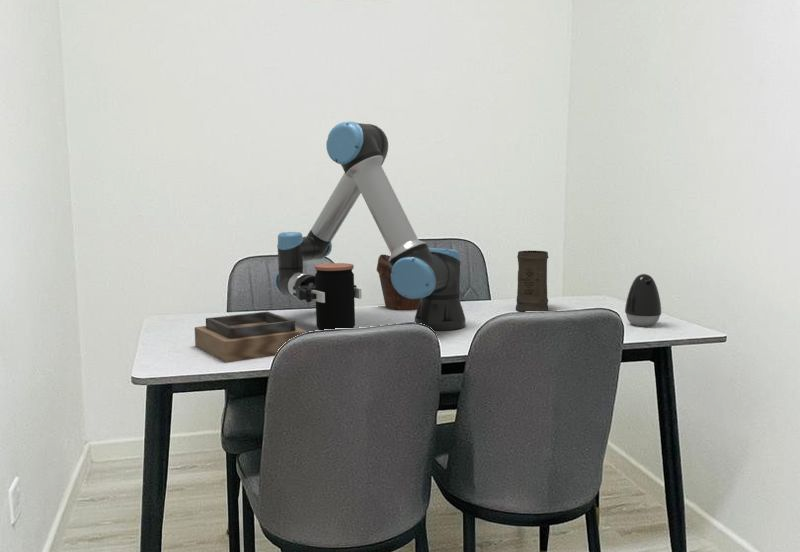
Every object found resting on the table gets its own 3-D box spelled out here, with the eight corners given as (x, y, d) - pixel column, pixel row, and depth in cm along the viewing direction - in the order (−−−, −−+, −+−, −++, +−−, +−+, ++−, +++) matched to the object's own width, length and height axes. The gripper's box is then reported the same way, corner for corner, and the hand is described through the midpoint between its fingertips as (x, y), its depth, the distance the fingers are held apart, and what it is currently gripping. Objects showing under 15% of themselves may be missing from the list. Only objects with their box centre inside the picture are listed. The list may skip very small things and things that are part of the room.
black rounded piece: (632, 328, 219) (634, 276, 217) (619, 322, 229) (621, 272, 227) (666, 328, 219) (668, 276, 217) (652, 321, 229) (654, 271, 228)
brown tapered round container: (442, 309, 252) (441, 255, 250) (384, 313, 247) (383, 258, 245) (425, 302, 269) (424, 251, 267) (370, 305, 264) (369, 254, 262)
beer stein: (548, 313, 243) (549, 251, 242) (514, 312, 245) (515, 251, 244) (548, 309, 258) (550, 250, 257) (516, 308, 260) (518, 249, 259)
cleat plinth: (272, 335, 212) (271, 309, 211) (308, 350, 193) (307, 321, 193) (195, 345, 200) (194, 317, 199) (225, 362, 181) (224, 331, 180)
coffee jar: (333, 324, 217) (332, 262, 215) (362, 328, 211) (361, 264, 209) (308, 331, 209) (306, 266, 206) (337, 335, 202) (336, 268, 200)
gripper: (340, 295, 230) (378, 305, 212) (269, 303, 218) (304, 313, 199) (339, 271, 229) (378, 278, 211) (268, 277, 217) (303, 285, 198)
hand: (342, 295), depth 205 cm, fingers closed on coffee jar, 11 cm apart
